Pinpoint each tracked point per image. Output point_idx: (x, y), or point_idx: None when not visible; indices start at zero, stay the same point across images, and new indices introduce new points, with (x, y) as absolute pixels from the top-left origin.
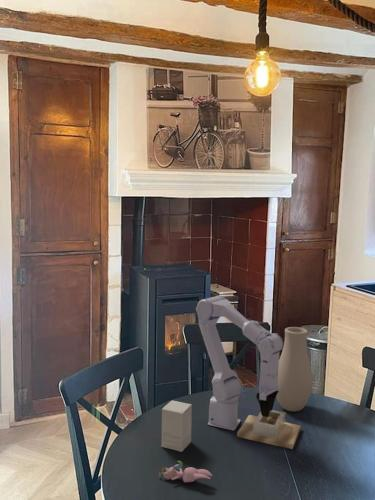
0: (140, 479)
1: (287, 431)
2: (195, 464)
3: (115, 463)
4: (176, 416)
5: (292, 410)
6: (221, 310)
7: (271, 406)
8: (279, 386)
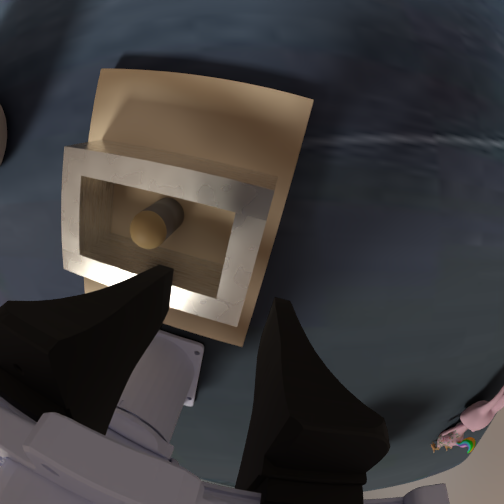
0: (440, 455)
1: (171, 123)
2: (416, 411)
3: (386, 484)
4: None
5: (6, 128)
6: None
7: (158, 289)
8: (35, 464)
